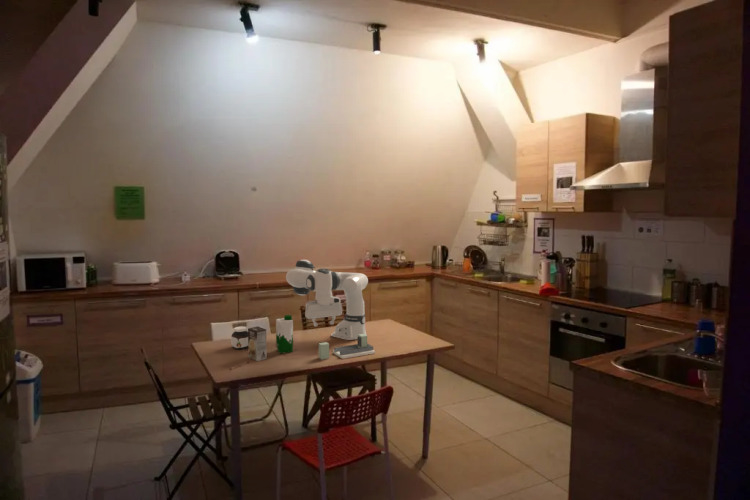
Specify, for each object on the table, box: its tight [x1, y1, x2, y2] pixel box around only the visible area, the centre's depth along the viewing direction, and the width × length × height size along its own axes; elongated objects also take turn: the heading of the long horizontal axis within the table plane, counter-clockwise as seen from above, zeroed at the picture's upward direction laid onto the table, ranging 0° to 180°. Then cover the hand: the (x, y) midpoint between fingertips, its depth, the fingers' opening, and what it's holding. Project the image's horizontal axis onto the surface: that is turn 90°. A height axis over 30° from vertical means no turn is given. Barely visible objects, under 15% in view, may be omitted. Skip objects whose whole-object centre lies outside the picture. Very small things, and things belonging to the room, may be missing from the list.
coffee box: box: [247, 326, 268, 362], centre depth 271 cm, size 9×6×16 cm
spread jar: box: [230, 326, 248, 350], centre depth 290 cm, size 12×11×12 cm
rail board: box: [332, 334, 376, 360], centre depth 280 cm, size 20×12×10 cm, turn 120°
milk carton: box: [275, 314, 294, 354], centre depth 283 cm, size 9×9×20 cm
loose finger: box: [318, 341, 330, 361], centre depth 272 cm, size 4×4×8 cm
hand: (323, 325), depth 270 cm, fingers open, 8 cm apart
